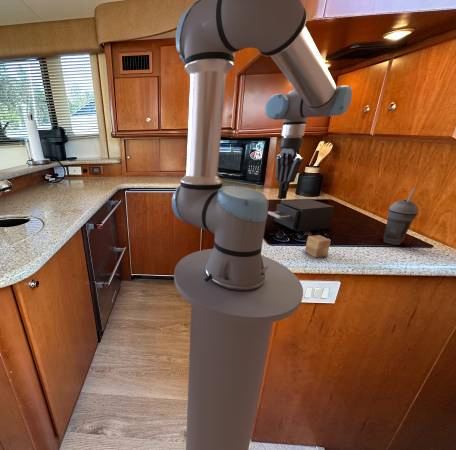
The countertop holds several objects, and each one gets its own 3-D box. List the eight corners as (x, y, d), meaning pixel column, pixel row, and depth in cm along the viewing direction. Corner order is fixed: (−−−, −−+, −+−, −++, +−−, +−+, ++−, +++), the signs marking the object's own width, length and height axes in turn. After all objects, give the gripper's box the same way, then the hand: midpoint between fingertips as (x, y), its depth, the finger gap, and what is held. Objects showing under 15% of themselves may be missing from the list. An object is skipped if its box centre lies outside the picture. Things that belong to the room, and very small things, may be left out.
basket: (280, 231, 95) (283, 212, 92) (262, 221, 106) (265, 204, 103) (321, 226, 99) (325, 208, 96) (300, 218, 109) (303, 201, 106)
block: (315, 257, 76) (319, 241, 74) (304, 251, 80) (308, 236, 78) (326, 256, 77) (330, 240, 75) (315, 250, 81) (319, 235, 79)
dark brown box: (298, 231, 96) (302, 209, 93) (277, 221, 108) (280, 201, 105) (328, 228, 99) (334, 206, 96) (305, 218, 111) (309, 198, 107)
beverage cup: (396, 238, 88) (416, 185, 81) (411, 247, 81) (434, 189, 74) (373, 237, 89) (390, 184, 82) (386, 245, 83) (406, 189, 76)
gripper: (314, 136, 83) (301, 201, 92) (288, 136, 95) (279, 194, 104) (296, 137, 82) (284, 203, 90) (271, 137, 94) (263, 195, 102)
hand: (281, 198), depth 97 cm, fingers closed
